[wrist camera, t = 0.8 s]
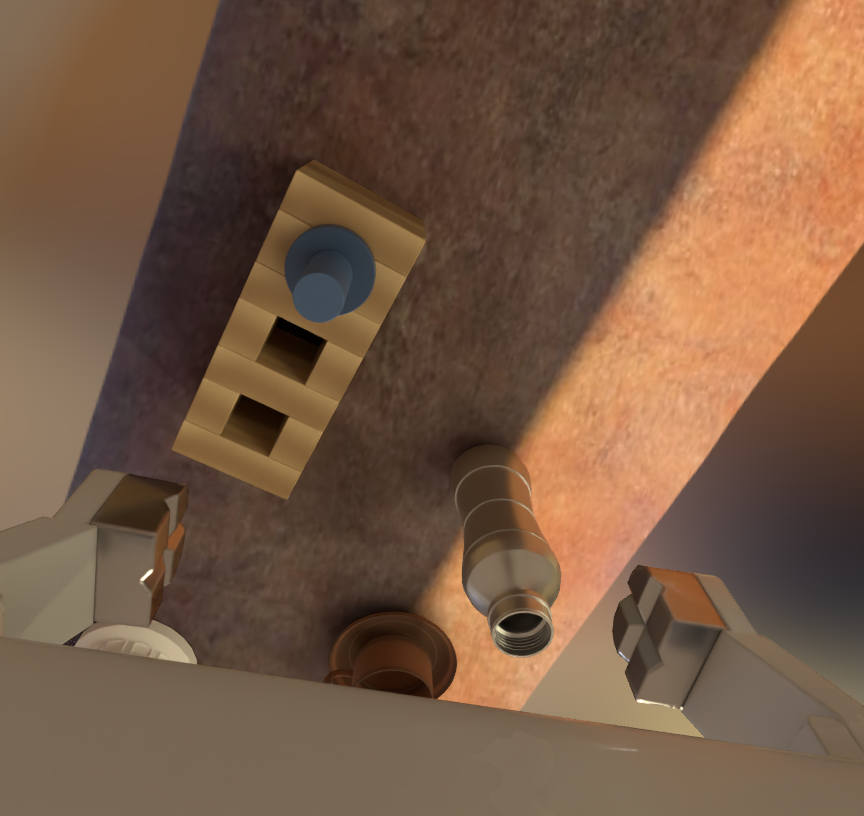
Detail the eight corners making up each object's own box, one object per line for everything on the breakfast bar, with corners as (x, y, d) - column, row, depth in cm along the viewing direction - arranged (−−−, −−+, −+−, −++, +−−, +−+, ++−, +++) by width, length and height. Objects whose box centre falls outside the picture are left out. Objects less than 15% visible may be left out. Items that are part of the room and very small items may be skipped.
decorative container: (94, 598, 63) (-17, 773, 47) (215, 641, 66) (150, 822, 49) (59, 684, 67) (-54, 874, 51) (174, 722, 70) (102, 914, 53)
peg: (321, 194, 48) (291, 226, 36) (393, 234, 49) (388, 277, 37) (287, 266, 50) (249, 318, 38) (358, 302, 51) (342, 364, 39)
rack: (313, 158, 49) (296, 169, 41) (423, 220, 50) (426, 240, 43) (201, 403, 56) (170, 449, 49) (302, 449, 58) (286, 500, 50)
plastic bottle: (460, 426, 57) (485, 578, 39) (537, 446, 58) (596, 604, 40) (437, 491, 60) (451, 663, 41) (511, 509, 61) (556, 685, 42)
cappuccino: (359, 710, 70) (354, 764, 64) (310, 622, 65) (300, 672, 59) (472, 677, 68) (477, 729, 63) (430, 585, 64) (432, 632, 58)
